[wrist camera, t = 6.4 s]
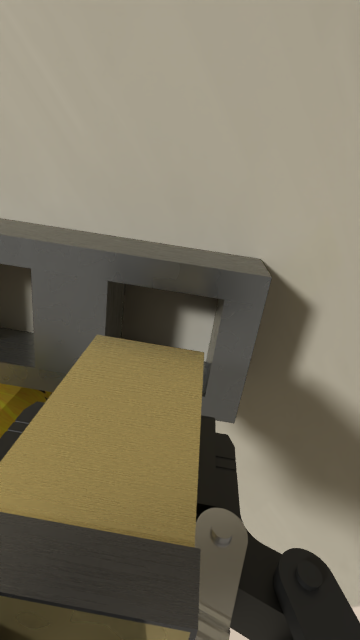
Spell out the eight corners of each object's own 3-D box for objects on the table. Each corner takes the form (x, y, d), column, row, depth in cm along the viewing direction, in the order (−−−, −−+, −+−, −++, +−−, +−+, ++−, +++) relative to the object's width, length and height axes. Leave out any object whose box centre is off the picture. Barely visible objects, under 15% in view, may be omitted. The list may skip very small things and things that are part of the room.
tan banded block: (94, 332, 13) (-97, 574, 5) (206, 350, 13) (197, 629, 5) (91, 421, 15) (-55, 708, 7) (189, 438, 15) (162, 751, 7)
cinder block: (-65, 208, 20) (-127, 214, 16) (260, 259, 20) (271, 277, 16) (-45, 338, 24) (-92, 367, 20) (230, 384, 23) (234, 423, 20)
